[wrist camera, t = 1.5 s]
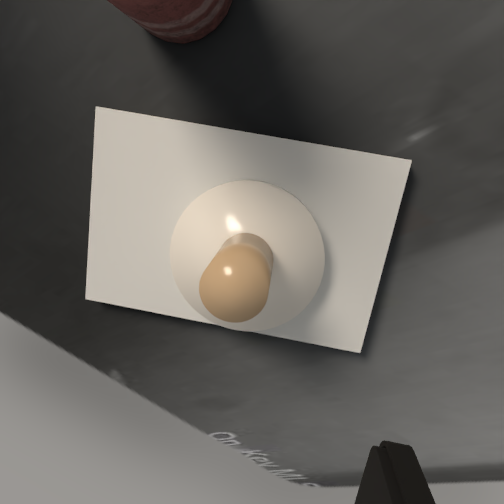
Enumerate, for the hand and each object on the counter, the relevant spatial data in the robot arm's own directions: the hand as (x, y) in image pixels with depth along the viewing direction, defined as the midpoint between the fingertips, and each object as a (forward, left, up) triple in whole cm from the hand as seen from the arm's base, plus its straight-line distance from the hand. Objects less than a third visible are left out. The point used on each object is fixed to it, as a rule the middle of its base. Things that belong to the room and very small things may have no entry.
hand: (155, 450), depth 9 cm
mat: (+1, -1, -17) cm, 17 cm away
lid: (0, 0, -16) cm, 16 cm away
